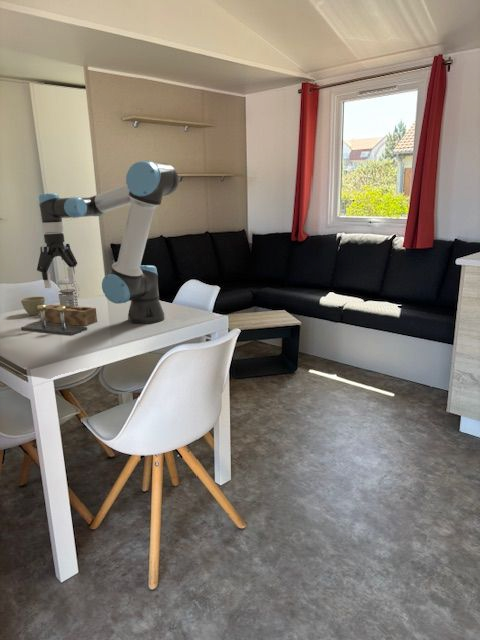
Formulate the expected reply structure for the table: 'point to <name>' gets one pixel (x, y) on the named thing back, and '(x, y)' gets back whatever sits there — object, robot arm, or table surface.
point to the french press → (67, 293)
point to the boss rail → (54, 327)
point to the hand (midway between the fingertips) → (60, 285)
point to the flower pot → (32, 304)
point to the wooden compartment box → (71, 315)
